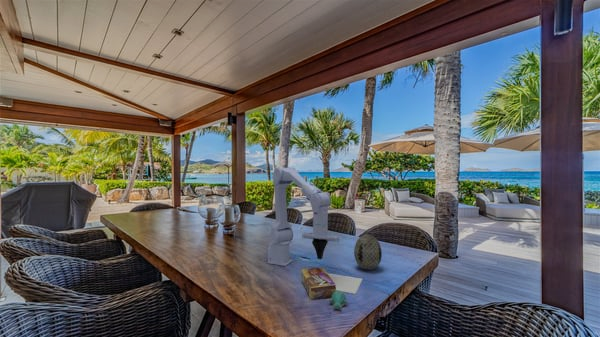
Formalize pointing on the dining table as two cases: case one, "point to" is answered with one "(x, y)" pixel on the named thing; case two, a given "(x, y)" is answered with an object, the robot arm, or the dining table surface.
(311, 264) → the dining table surface
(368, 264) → the decorative egg
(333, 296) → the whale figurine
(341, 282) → the mat
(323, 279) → the candy box
